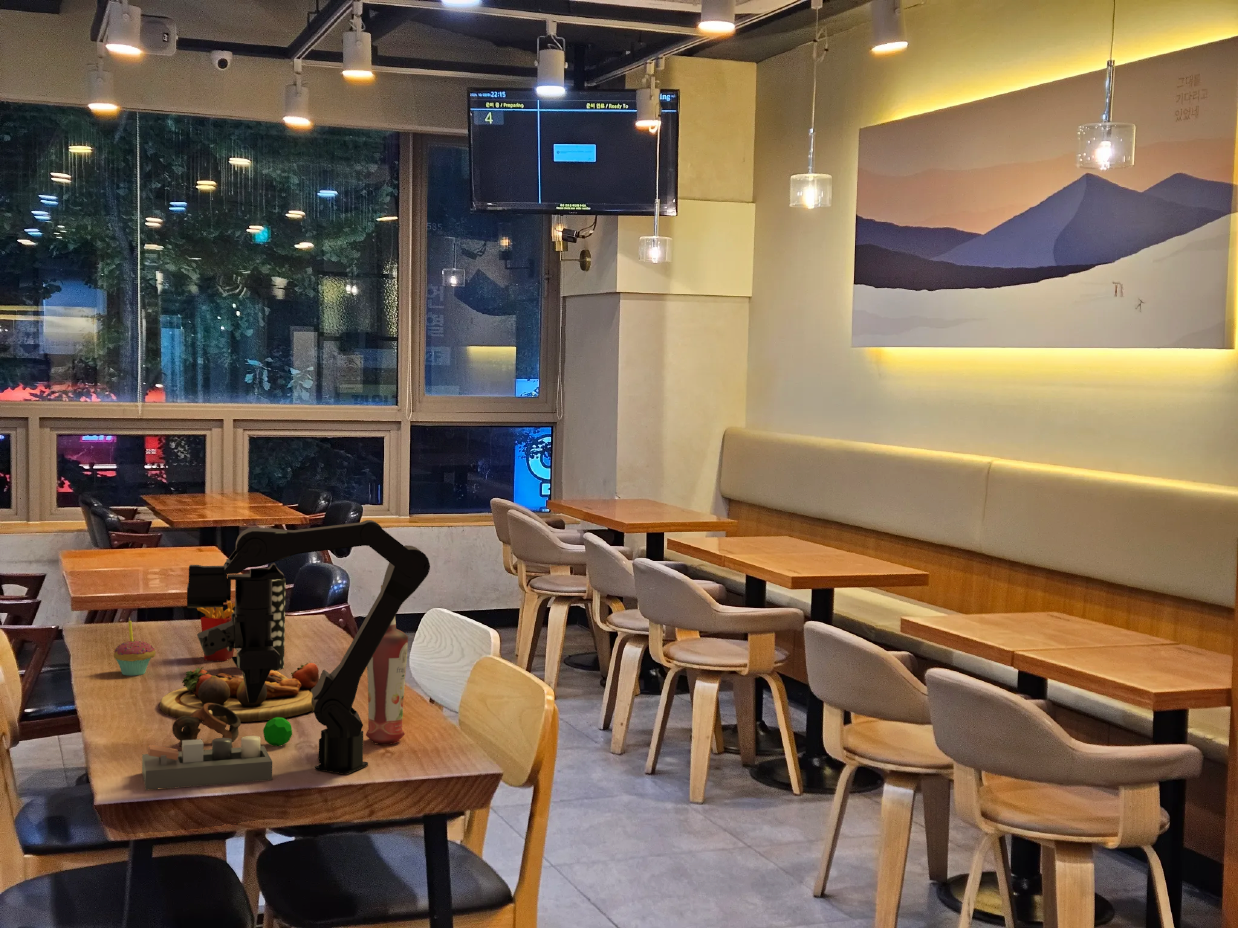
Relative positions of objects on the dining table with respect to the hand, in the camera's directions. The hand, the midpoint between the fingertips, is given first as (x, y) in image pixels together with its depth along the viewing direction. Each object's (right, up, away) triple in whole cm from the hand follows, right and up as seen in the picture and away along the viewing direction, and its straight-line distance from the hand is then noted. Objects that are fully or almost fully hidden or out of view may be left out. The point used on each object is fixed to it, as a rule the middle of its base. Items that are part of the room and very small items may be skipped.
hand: (252, 702), depth 214 cm
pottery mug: (-13, -11, +16) cm, 23 cm away
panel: (-7, -11, -2) cm, 13 cm away
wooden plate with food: (-15, -10, +48) cm, 51 cm away
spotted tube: (-20, -7, +83) cm, 86 cm away
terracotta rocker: (-13, -7, -5) cm, 15 cm away
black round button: (-4, -9, -1) cm, 10 cm away
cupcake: (-46, -7, +73) cm, 87 cm away
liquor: (+17, -11, +23) cm, 31 cm away
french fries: (-34, -7, +91) cm, 98 cm away
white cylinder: (0, -9, 0) cm, 9 cm away
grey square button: (-9, -9, -3) cm, 13 cm away
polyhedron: (-1, -11, +18) cm, 21 cm away
